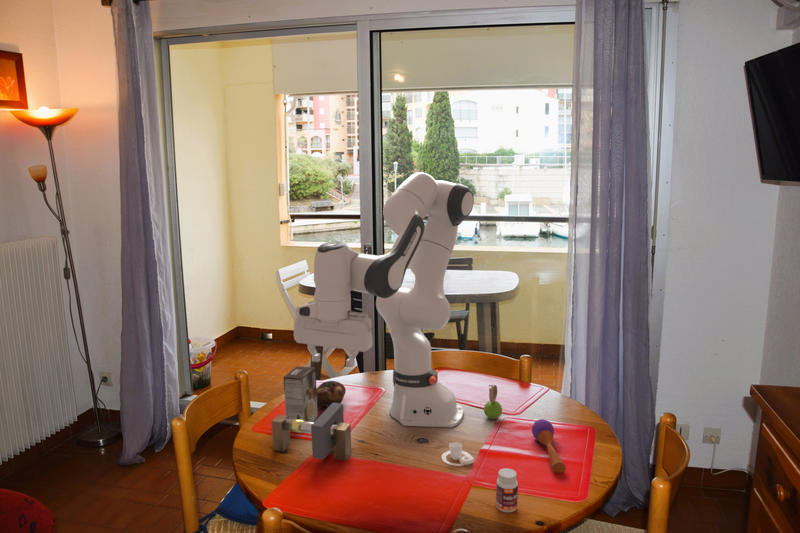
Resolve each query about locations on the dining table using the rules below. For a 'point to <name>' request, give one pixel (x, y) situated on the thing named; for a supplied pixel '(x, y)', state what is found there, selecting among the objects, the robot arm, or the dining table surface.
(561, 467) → the purple and brown maraca
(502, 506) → the pill bottle
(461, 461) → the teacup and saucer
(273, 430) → the rod stand
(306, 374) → the coffee box
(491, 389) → the green feathered ball toy
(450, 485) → the dining table surface
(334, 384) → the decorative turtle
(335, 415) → the grey flat block
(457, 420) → the robot arm
